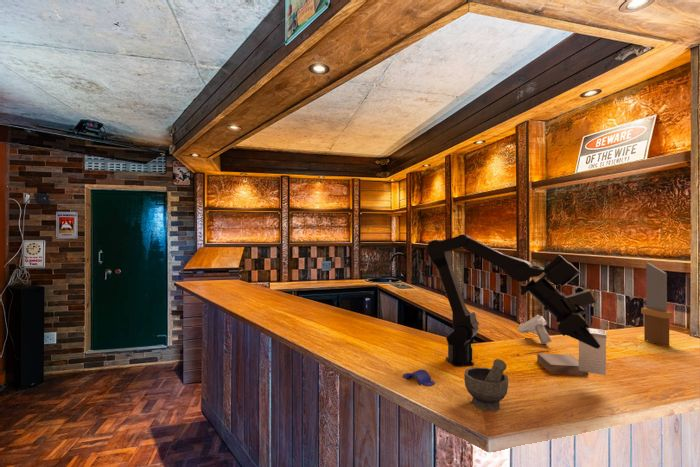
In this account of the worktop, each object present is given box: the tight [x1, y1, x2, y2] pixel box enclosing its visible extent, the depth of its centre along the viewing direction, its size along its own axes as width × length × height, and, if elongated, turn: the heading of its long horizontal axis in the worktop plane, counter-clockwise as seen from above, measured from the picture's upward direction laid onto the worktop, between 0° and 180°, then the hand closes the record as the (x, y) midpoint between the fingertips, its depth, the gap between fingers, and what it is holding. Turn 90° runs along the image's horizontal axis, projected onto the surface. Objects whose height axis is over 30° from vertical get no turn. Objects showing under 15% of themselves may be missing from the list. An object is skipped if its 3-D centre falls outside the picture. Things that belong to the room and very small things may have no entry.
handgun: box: [517, 314, 553, 345], centre depth 135 cm, size 20×4×11 cm, turn 1°
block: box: [536, 352, 589, 376], centre depth 105 cm, size 10×10×3 cm
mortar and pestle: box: [463, 358, 509, 412], centre depth 81 cm, size 11×9×12 cm
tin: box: [578, 327, 608, 376], centre depth 90 cm, size 6×6×10 cm
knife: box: [640, 262, 674, 346], centre depth 131 cm, size 8×4×30 cm, turn 9°
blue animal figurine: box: [402, 368, 436, 387], centre depth 95 cm, size 9×5×3 cm, turn 43°
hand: (598, 344), depth 89 cm, fingers closed on tin, 6 cm apart
